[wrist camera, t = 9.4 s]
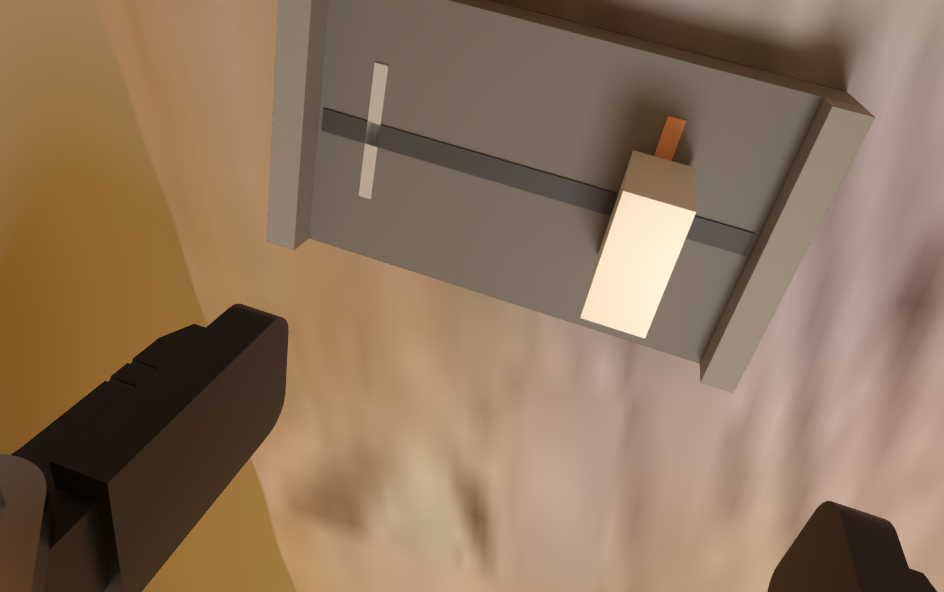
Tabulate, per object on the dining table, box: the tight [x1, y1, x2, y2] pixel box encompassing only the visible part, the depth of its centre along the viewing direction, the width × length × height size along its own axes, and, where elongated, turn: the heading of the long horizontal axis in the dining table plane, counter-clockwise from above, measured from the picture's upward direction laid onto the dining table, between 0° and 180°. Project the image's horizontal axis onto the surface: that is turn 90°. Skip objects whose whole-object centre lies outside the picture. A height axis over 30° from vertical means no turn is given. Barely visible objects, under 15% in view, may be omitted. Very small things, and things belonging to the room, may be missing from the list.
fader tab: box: [580, 150, 696, 338], centre depth 25 cm, size 5×2×5 cm, turn 168°
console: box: [267, 0, 875, 393], centre depth 29 cm, size 12×22×4 cm, turn 78°
